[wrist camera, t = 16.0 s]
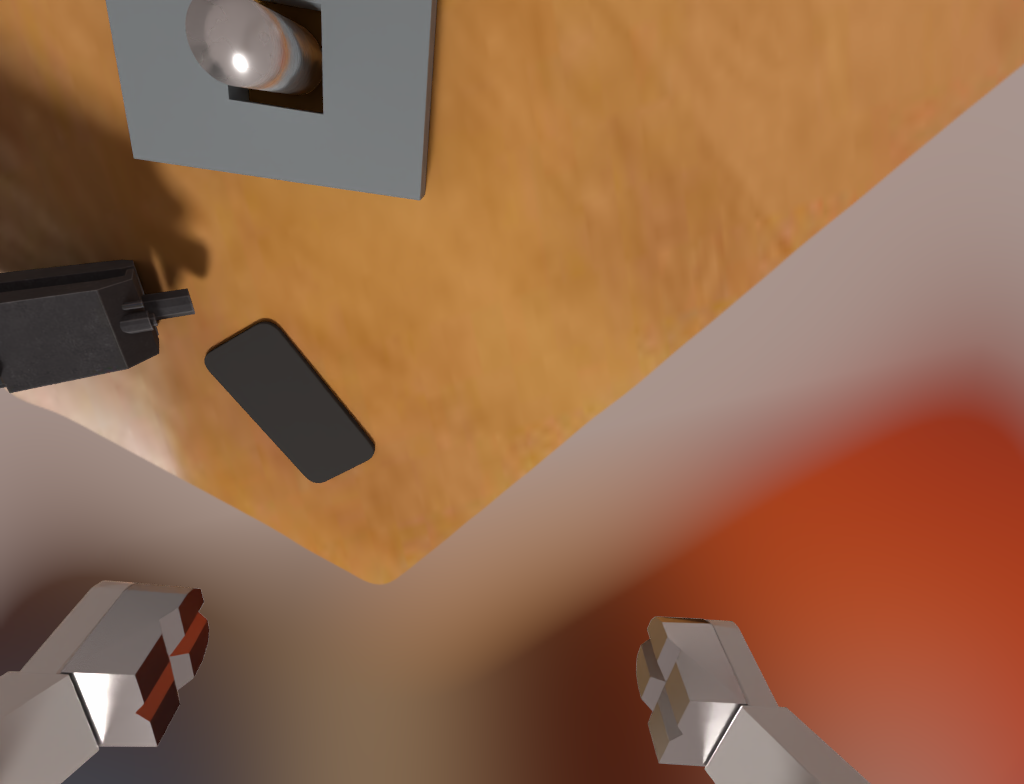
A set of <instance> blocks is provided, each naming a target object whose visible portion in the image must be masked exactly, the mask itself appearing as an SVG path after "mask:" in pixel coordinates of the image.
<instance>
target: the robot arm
mask: <svg viewBox="0 0 1024 784" xmlns="http://www.w3.org/2000/svg"><path fill="white" fill-rule="evenodd" d="M203 603H204V600H203V596H202V592H201V589H197V588H187V587H175V586H165V585H154V584H142V583H130V582H117V581H102V582H100V583H99V584H97V585H95V586H94V587H92V588H91V589H90V590H89V591H88V593H87V594H86V595H85V596H84V597H83V598H82V600H81V601H80V602H79V603H78V604H77V605H76V606H75V608H74V609H73V610H72V611H71V612H70V613H69V615H68V616H67V617H66V618H65V620H63V622H62V623H61V624H60V625H59V626H58V628H57V629H56V630H55V631H54V632H53V633H52V634H51V636H50V637H49V638H48V639H47V640H46V641H45V643H44V644H43V645H42V646H41V647H40V648H39V650H38V651H37V652H36V653H35V654H34V655H33V657H32V658H31V659H30V660H29V661H28V662H27V664H26V665H25V666H24V667H23V668H22V670H21V671H20V672H7V673H6V674H4V675H3V676H0V784H61V783H62V782H63V781H64V780H65V779H66V778H67V777H69V776H70V775H71V774H72V773H73V772H74V771H75V770H76V769H78V768H79V767H80V766H81V765H82V764H83V763H84V762H86V761H87V760H88V759H89V758H90V757H92V756H93V755H94V754H95V753H96V752H97V751H98V750H99V747H98V746H138V747H139V746H140V747H142V746H144V747H146V746H147V747H157V746H158V745H159V743H160V741H161V739H162V737H163V735H164V733H165V731H166V730H167V728H168V726H169V724H170V722H171V720H172V718H173V717H174V715H175V713H176V711H177V709H178V707H179V705H180V701H179V696H178V691H177V690H178V689H180V688H181V687H182V686H184V685H185V684H186V683H187V682H189V681H190V680H192V679H193V678H194V677H195V675H196V673H197V671H198V669H199V667H200V665H201V663H202V661H203V658H204V655H205V652H206V648H207V645H208V639H209V626H208V620H207V619H206V618H205V617H204V616H203V615H202V614H200V613H199V610H200V608H201V607H202V605H203ZM647 630H648V633H649V636H650V639H649V640H647V641H646V642H645V643H643V644H642V645H641V646H640V649H639V652H638V655H637V666H636V674H637V682H638V687H639V691H640V695H641V699H642V700H643V701H644V702H645V703H646V704H647V705H648V706H649V707H650V709H651V710H652V711H653V712H652V715H651V717H650V720H649V722H648V725H649V729H650V732H651V736H652V740H653V744H654V747H655V751H656V754H657V758H658V762H659V763H663V764H678V765H694V766H706V767H705V770H706V772H707V773H708V774H709V775H710V777H711V778H712V779H713V781H714V782H715V783H716V784H870V783H869V782H868V781H867V780H866V779H865V778H864V777H863V776H861V775H860V774H859V773H858V772H857V771H856V770H855V769H854V768H853V767H852V766H850V765H849V764H848V763H847V762H846V761H845V760H844V759H843V758H842V757H840V756H839V755H838V754H837V753H836V752H835V751H834V750H833V749H832V748H831V747H829V746H828V745H827V744H826V743H825V742H824V741H823V740H822V739H821V738H819V737H818V736H817V735H816V734H815V733H814V732H813V731H812V730H811V729H809V728H808V727H807V726H806V725H805V724H804V723H803V722H802V721H801V720H800V719H798V718H797V717H796V716H795V715H794V714H793V713H792V712H790V710H788V709H787V708H786V707H778V705H777V703H776V701H775V699H774V697H773V695H772V693H771V691H770V689H769V687H768V685H767V683H766V681H765V679H764V677H763V675H762V673H761V671H760V669H759V667H758V665H757V663H756V661H755V659H754V657H753V655H752V653H751V651H750V650H749V647H748V646H747V644H746V642H745V640H744V638H743V636H742V634H741V632H740V630H739V628H738V626H737V625H736V624H735V623H734V622H732V621H720V620H704V619H696V618H695V619H694V618H676V617H675V618H674V617H654V618H653V619H652V620H651V621H650V624H649V626H648V629H647Z"/></svg>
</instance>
